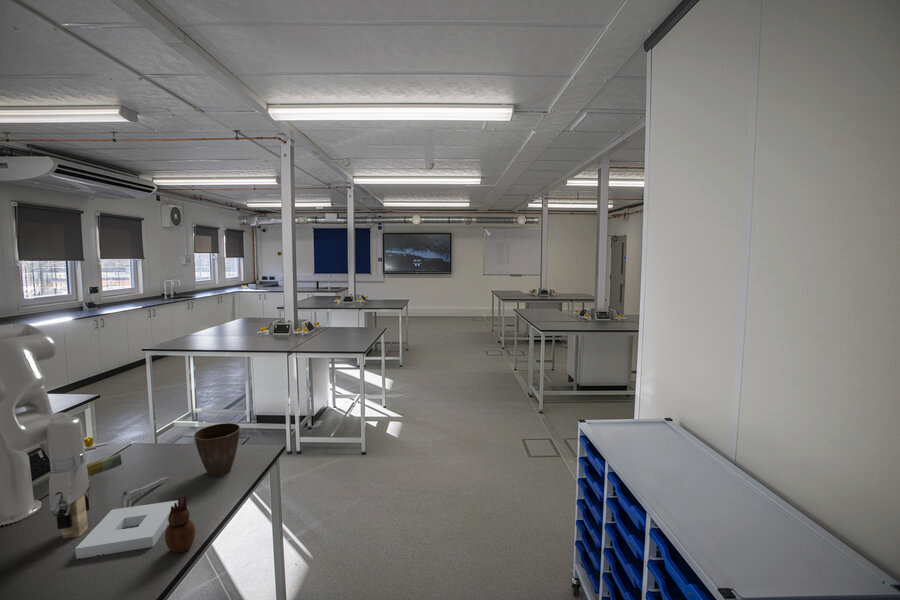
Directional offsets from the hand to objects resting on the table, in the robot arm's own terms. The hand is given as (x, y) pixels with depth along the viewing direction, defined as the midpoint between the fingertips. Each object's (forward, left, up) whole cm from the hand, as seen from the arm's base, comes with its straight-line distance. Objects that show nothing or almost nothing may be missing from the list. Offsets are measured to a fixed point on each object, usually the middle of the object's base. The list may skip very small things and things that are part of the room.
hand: (74, 518), depth 120 cm
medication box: (-14, +42, -5) cm, 45 cm away
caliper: (+11, +18, -5) cm, 22 cm away
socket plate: (+16, -4, -4) cm, 17 cm away
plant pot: (+31, +28, -5) cm, 42 cm away
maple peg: (0, 0, -4) cm, 4 cm away
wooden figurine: (+33, -16, -5) cm, 37 cm away
